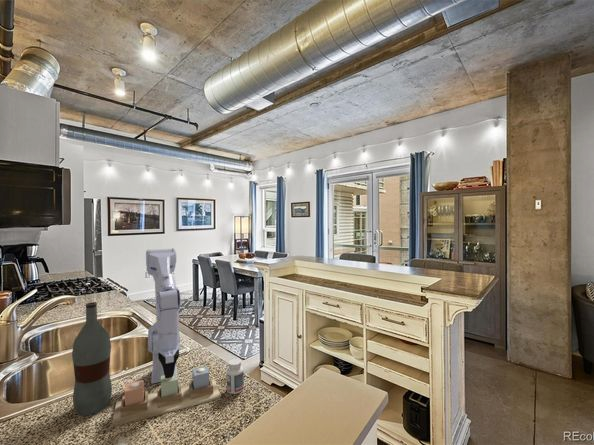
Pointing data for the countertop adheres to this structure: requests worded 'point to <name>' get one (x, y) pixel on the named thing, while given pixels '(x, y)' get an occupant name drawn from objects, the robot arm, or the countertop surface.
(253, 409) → the countertop surface
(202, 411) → the countertop surface
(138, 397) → the terracotta block
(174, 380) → the sage block
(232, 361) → the pill bottle
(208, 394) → the birch board
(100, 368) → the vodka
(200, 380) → the slate-blue block
